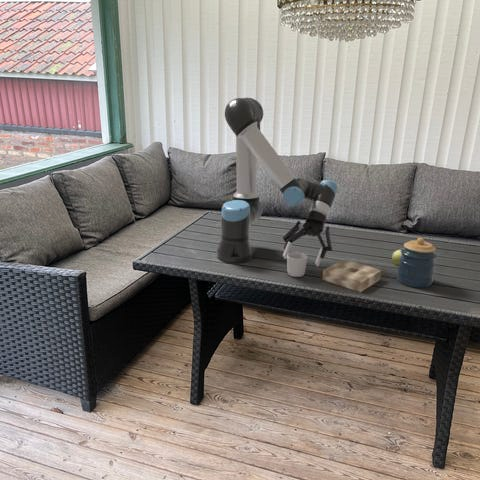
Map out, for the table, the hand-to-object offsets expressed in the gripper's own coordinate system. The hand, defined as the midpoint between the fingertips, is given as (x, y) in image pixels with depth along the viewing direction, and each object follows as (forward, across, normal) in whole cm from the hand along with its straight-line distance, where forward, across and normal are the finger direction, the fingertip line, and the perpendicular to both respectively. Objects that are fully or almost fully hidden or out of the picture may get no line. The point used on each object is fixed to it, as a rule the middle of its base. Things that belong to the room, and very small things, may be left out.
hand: (300, 261), depth 176 cm
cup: (+4, +1, -4) cm, 6 cm away
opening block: (-1, -19, -9) cm, 21 cm away
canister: (-9, -39, -18) cm, 44 cm away
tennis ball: (-21, -30, -29) cm, 47 cm away
